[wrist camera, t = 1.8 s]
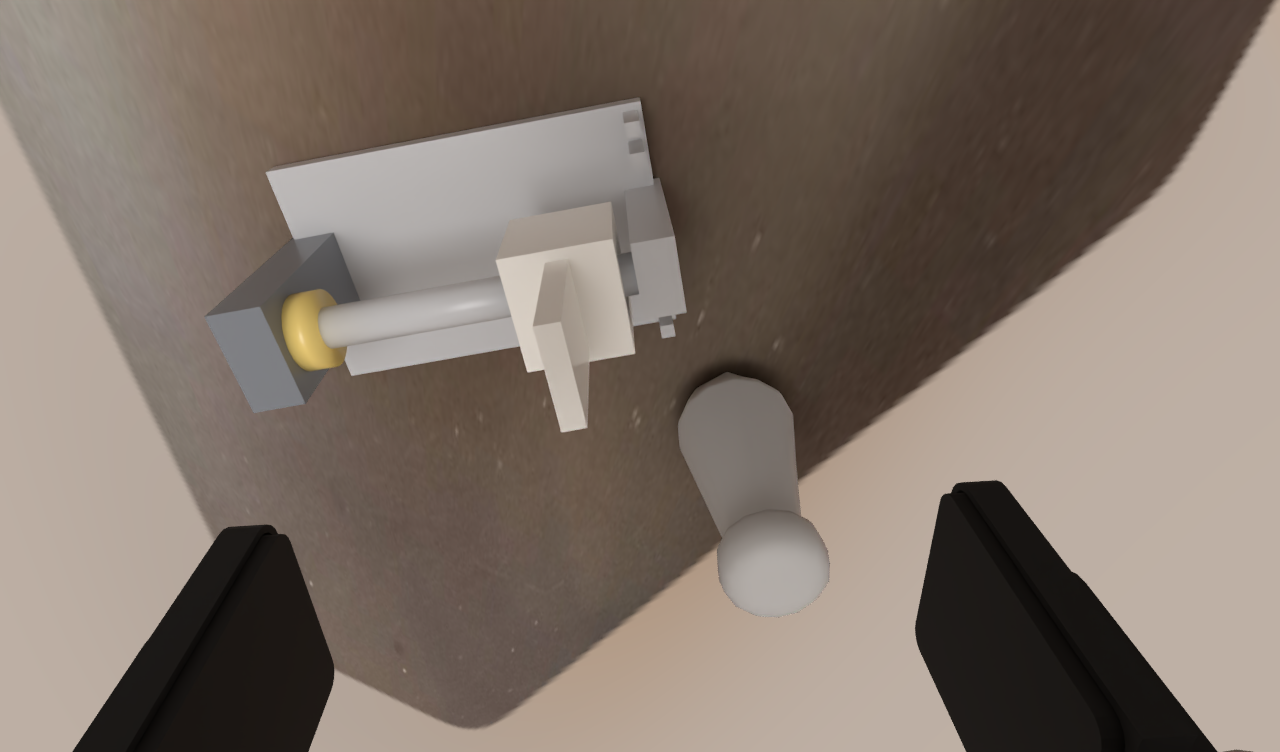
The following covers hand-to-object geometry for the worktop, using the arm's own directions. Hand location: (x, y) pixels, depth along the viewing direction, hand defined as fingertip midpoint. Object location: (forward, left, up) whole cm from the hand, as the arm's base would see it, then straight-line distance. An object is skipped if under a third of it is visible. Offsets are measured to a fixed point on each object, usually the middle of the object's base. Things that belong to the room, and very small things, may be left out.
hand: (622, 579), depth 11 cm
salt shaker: (-4, +13, -25) cm, 29 cm away
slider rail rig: (+6, +2, -25) cm, 26 cm away
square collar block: (+2, +2, -20) cm, 20 cm away
